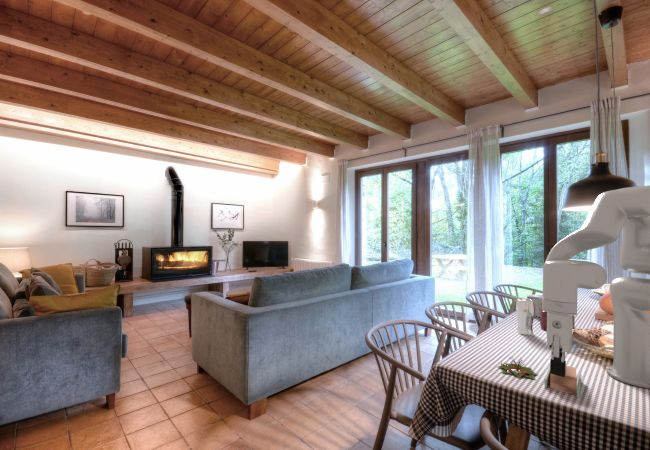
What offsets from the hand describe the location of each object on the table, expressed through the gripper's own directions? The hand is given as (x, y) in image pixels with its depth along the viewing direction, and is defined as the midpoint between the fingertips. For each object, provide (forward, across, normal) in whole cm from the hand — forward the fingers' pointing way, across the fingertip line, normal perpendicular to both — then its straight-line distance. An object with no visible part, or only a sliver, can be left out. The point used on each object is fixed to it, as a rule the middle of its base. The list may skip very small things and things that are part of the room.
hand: (557, 374), depth 83 cm
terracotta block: (+7, +11, 0) cm, 13 cm away
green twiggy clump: (+8, +12, +12) cm, 18 cm away
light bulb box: (+5, +97, +17) cm, 98 cm away
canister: (+5, +74, +7) cm, 74 cm away
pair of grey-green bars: (+7, +12, 0) cm, 14 cm away
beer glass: (+6, +58, +17) cm, 60 cm away
